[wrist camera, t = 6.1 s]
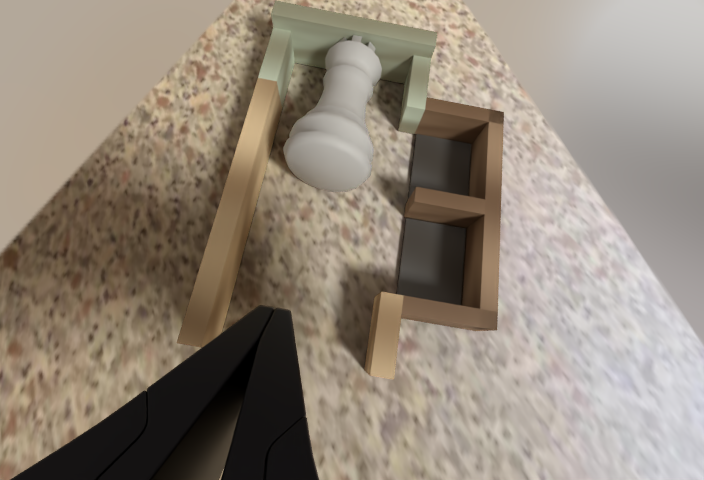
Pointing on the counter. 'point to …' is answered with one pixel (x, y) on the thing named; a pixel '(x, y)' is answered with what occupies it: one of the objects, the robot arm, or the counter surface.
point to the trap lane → (424, 193)
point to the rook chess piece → (337, 122)
